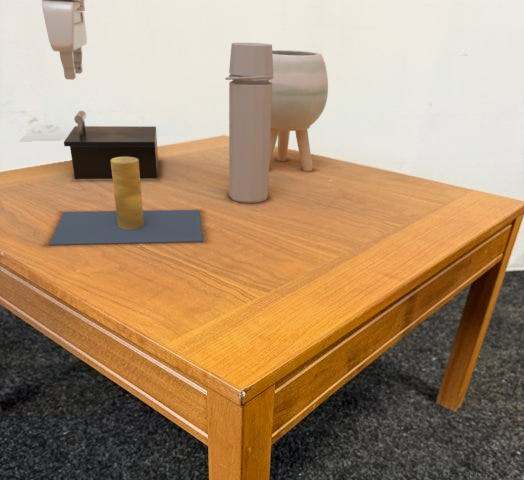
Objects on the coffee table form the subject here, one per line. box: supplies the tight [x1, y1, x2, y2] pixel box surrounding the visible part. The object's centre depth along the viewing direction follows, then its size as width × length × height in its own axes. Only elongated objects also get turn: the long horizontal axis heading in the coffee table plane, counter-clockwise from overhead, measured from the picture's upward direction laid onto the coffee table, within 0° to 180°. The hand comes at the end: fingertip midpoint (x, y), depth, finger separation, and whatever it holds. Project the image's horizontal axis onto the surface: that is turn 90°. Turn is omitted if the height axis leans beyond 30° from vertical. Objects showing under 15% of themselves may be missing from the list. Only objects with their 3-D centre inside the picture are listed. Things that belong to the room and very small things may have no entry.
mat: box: [48, 209, 204, 247], centre depth 86 cm, size 22×14×1 cm, turn 98°
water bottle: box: [224, 42, 274, 204], centre depth 95 cm, size 9×8×25 cm
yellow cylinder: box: [111, 157, 144, 230], centre depth 83 cm, size 4×4×10 cm
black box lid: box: [63, 110, 157, 147], centre depth 108 cm, size 17×15×5 cm
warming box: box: [69, 133, 159, 180], centre depth 111 cm, size 16×15×7 cm
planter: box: [269, 49, 329, 172], centre depth 114 cm, size 16×16×22 cm
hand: (74, 76), depth 102 cm, fingers open, 8 cm apart
